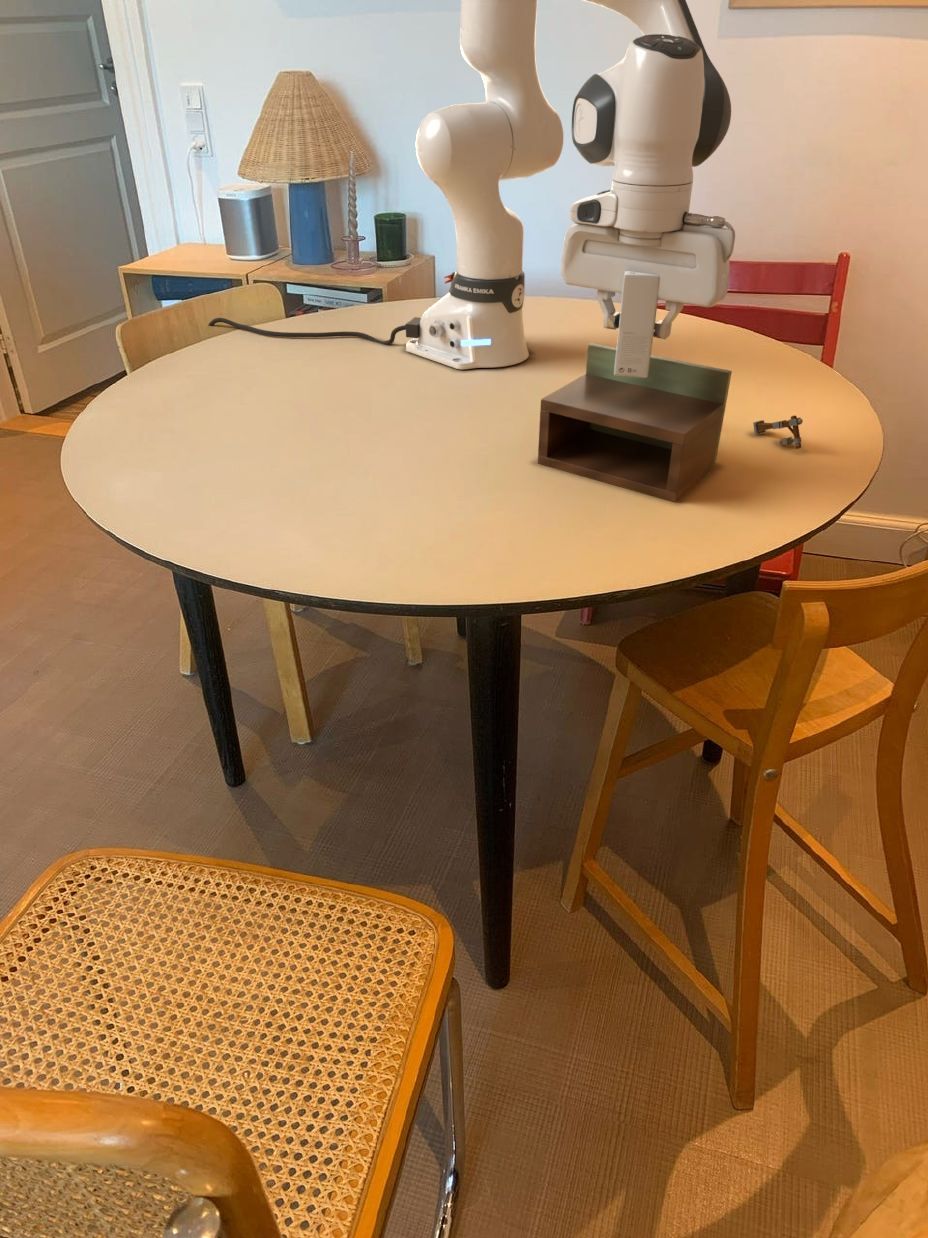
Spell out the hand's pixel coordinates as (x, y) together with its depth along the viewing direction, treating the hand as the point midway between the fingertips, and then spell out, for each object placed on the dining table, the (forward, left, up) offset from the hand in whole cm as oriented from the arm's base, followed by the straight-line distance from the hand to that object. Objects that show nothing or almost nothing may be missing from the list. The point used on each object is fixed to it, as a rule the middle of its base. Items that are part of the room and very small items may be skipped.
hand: (635, 332), depth 106 cm
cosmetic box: (0, 0, -5) cm, 5 cm away
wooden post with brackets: (+14, +21, -18) cm, 31 cm away
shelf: (0, +1, -18) cm, 18 cm away
